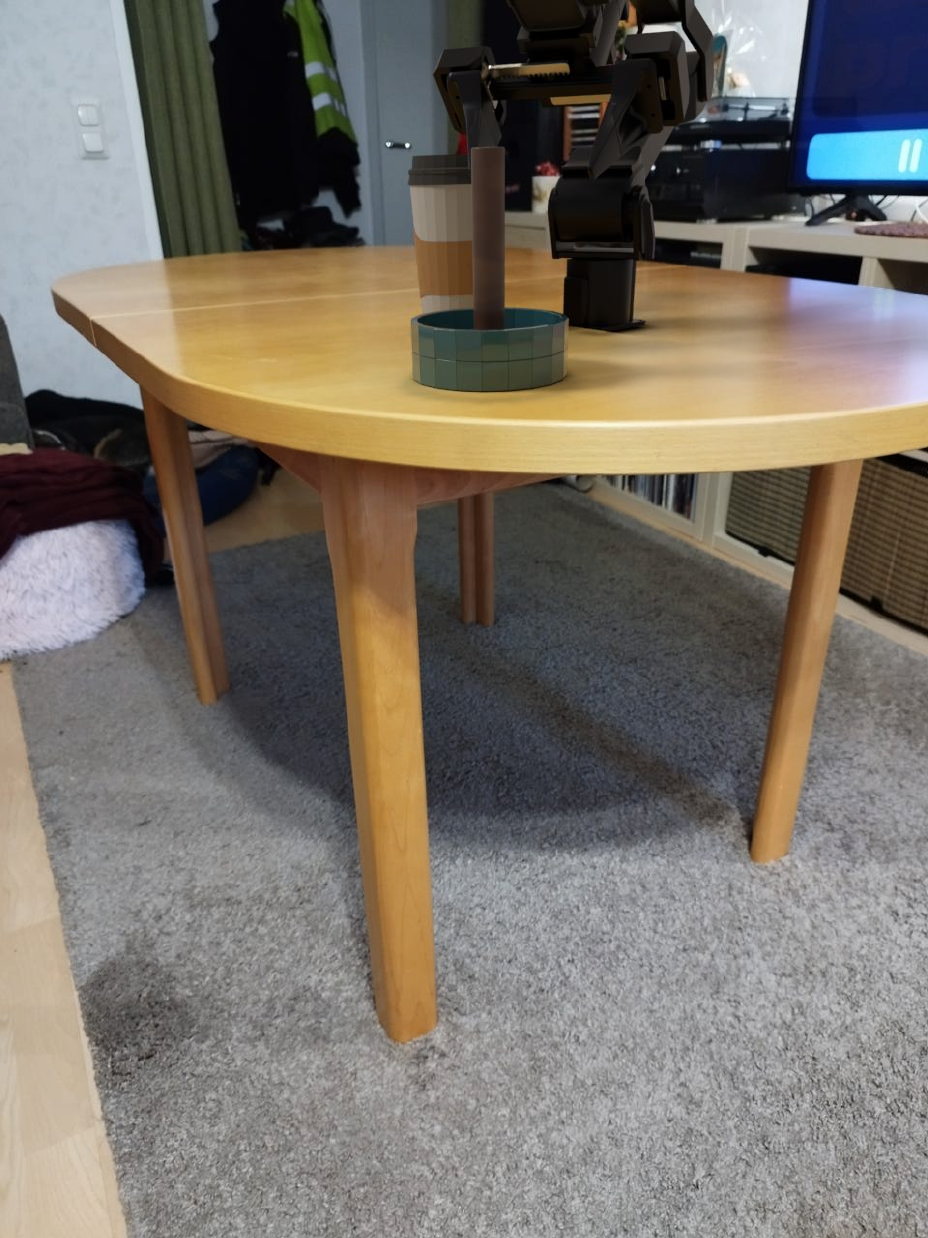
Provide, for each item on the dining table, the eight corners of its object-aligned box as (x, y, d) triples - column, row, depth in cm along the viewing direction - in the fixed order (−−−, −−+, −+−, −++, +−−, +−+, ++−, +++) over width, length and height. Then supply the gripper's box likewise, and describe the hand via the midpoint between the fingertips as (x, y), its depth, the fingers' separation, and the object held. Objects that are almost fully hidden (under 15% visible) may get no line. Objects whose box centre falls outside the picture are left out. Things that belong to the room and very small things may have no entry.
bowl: (497, 362, 71) (497, 303, 69) (597, 383, 64) (601, 317, 62) (383, 382, 65) (380, 318, 63) (479, 408, 58) (478, 336, 56)
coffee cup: (493, 340, 81) (492, 153, 74) (404, 338, 82) (395, 155, 75) (507, 325, 88) (507, 154, 81) (425, 324, 89) (419, 156, 83)
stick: (492, 365, 67) (491, 147, 60) (532, 374, 64) (535, 145, 57) (446, 374, 65) (440, 148, 58) (485, 383, 61) (483, 145, 55)
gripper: (439, -80, 65) (374, 86, 61) (696, -117, 58) (641, 69, 54) (484, 57, 75) (430, 207, 71) (708, 40, 68) (662, 206, 64)
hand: (530, 175), depth 65 cm, fingers open, 9 cm apart
